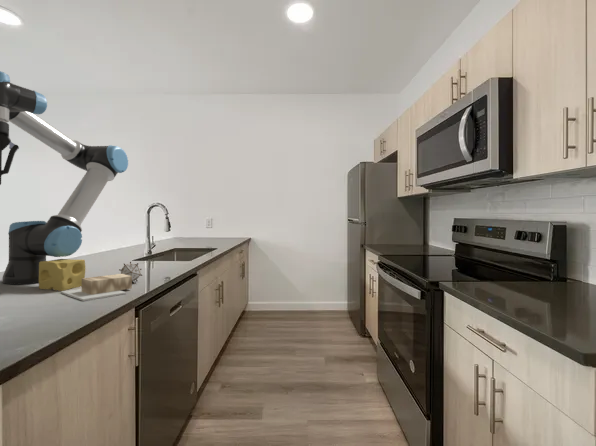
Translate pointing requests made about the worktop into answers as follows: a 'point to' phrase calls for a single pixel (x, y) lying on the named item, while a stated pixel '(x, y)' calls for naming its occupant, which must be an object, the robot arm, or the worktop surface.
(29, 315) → the worktop surface
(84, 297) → the rubber mat
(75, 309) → the worktop surface
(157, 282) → the worktop surface
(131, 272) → the game die
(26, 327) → the worktop surface
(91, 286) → the maple block
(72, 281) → the cheese
